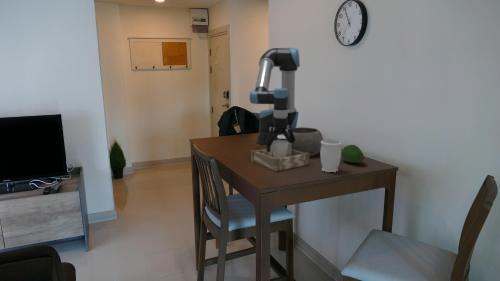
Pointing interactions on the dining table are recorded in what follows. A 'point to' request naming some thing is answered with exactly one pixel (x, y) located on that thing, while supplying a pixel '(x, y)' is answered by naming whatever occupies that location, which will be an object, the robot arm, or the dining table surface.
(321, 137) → the bowl
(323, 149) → the jar
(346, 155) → the fruit
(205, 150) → the dining table surface
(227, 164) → the dining table surface
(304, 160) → the crate
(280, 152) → the cup
